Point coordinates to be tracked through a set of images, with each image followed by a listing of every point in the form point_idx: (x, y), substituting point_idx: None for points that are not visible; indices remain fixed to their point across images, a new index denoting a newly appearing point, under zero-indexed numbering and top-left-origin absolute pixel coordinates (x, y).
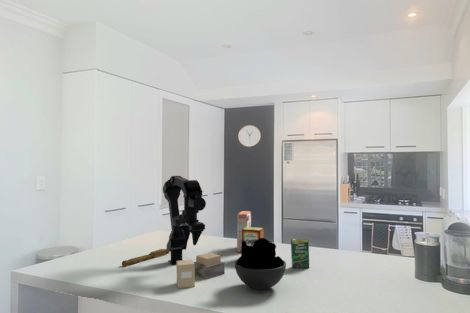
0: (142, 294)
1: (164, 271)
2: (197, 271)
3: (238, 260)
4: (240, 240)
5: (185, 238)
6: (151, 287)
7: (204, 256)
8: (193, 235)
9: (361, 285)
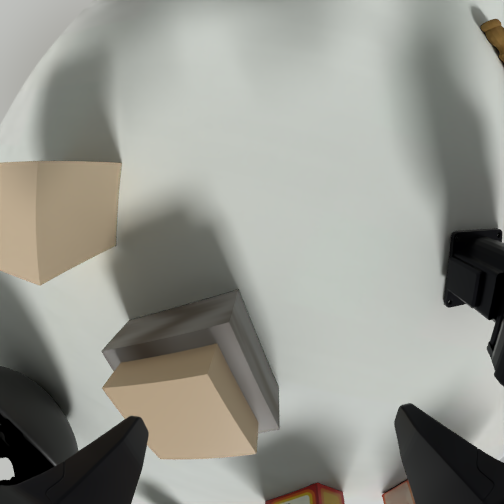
0: (75, 26)
1: (362, 145)
2: (188, 312)
3: (5, 419)
4: None
5: (413, 427)
6: (122, 46)
7: (163, 404)
8: (30, 481)
9: None
